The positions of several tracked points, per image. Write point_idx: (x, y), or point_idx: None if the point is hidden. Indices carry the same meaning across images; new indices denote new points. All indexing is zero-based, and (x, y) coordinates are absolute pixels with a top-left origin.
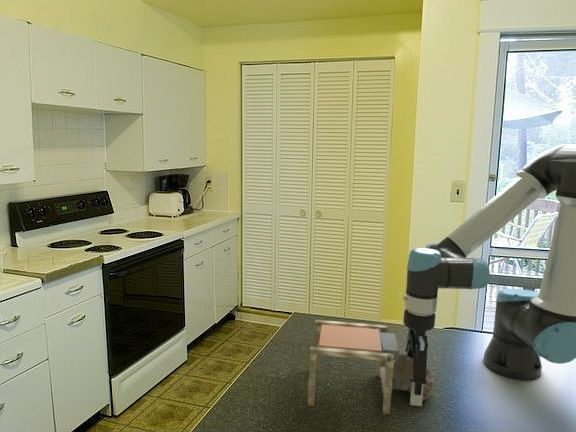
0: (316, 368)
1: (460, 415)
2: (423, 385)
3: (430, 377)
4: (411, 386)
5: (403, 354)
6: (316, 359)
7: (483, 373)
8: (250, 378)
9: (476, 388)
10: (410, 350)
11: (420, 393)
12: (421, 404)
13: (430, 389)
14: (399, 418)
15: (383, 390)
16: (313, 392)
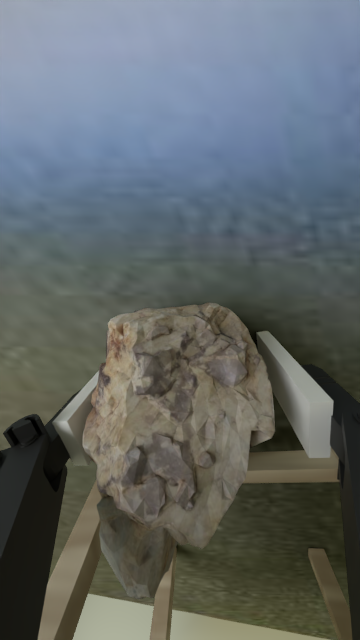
0: (174, 557)
1: (292, 174)
2: (315, 382)
3: (185, 338)
4: (289, 417)
5: (131, 586)
6: (170, 597)
7: None
8: (245, 615)
9: (25, 84)
10: (43, 560)
11: (323, 373)
12: (270, 334)
13: (230, 319)
14: (350, 392)
15: (298, 481)
16: (349, 610)
